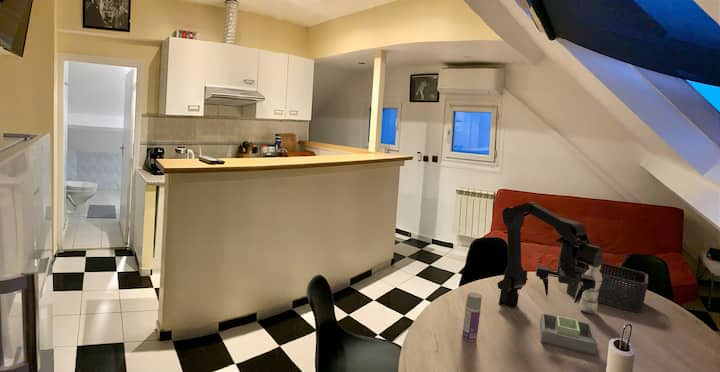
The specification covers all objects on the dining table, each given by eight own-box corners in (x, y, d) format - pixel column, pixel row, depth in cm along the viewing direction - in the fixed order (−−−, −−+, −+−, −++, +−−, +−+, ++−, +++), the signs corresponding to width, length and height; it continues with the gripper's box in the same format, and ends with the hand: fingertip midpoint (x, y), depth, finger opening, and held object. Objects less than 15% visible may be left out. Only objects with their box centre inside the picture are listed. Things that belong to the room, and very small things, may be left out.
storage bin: (642, 301, 182) (648, 272, 180) (642, 315, 167) (648, 283, 165) (571, 283, 198) (576, 256, 196) (565, 294, 183) (569, 265, 181)
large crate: (540, 342, 137) (542, 331, 136) (539, 322, 151) (541, 312, 151) (595, 356, 131) (597, 344, 130) (588, 334, 145) (590, 323, 145)
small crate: (555, 339, 138) (558, 325, 137) (554, 328, 146) (556, 315, 145) (577, 345, 135) (579, 331, 135) (575, 333, 144) (577, 320, 143)
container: (477, 336, 137) (482, 293, 135) (476, 343, 133) (481, 299, 131) (462, 333, 139) (468, 291, 136) (461, 339, 134) (466, 296, 132)
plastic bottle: (599, 316, 161) (608, 268, 158) (581, 314, 162) (589, 265, 159) (593, 310, 167) (601, 262, 164) (576, 307, 169) (583, 260, 166)
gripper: (539, 257, 141) (532, 300, 143) (601, 270, 133) (592, 315, 136) (539, 249, 151) (532, 289, 153) (597, 260, 144) (589, 302, 146)
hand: (560, 299), depth 147 cm, fingers open, 9 cm apart
